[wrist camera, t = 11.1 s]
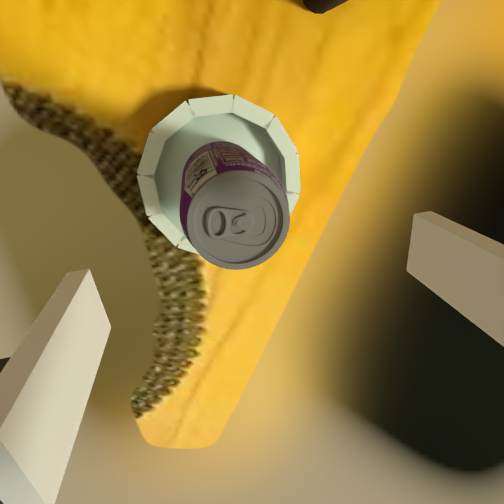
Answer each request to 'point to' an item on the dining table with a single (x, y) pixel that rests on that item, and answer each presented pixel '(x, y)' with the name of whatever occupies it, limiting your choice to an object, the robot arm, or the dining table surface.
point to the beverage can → (232, 206)
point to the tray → (201, 133)
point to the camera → (322, 5)
